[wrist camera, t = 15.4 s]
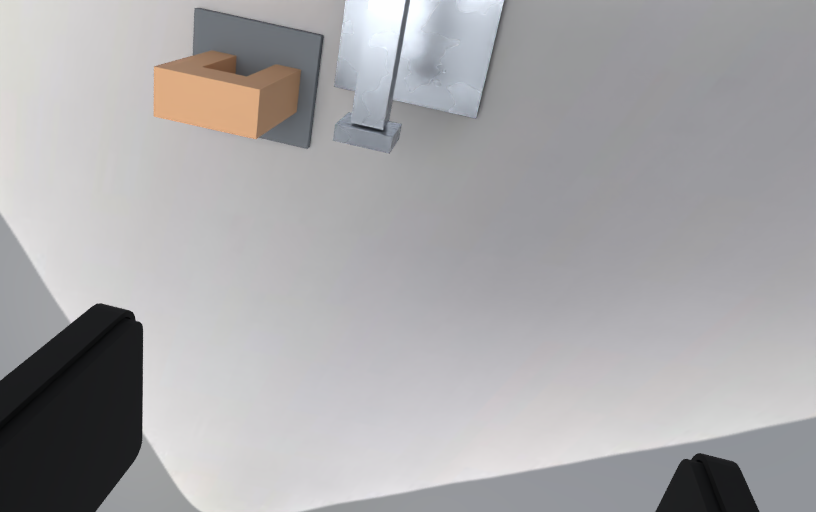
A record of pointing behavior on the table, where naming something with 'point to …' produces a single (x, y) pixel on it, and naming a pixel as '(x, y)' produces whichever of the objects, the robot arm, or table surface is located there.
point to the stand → (411, 61)
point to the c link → (225, 94)
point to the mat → (266, 61)
